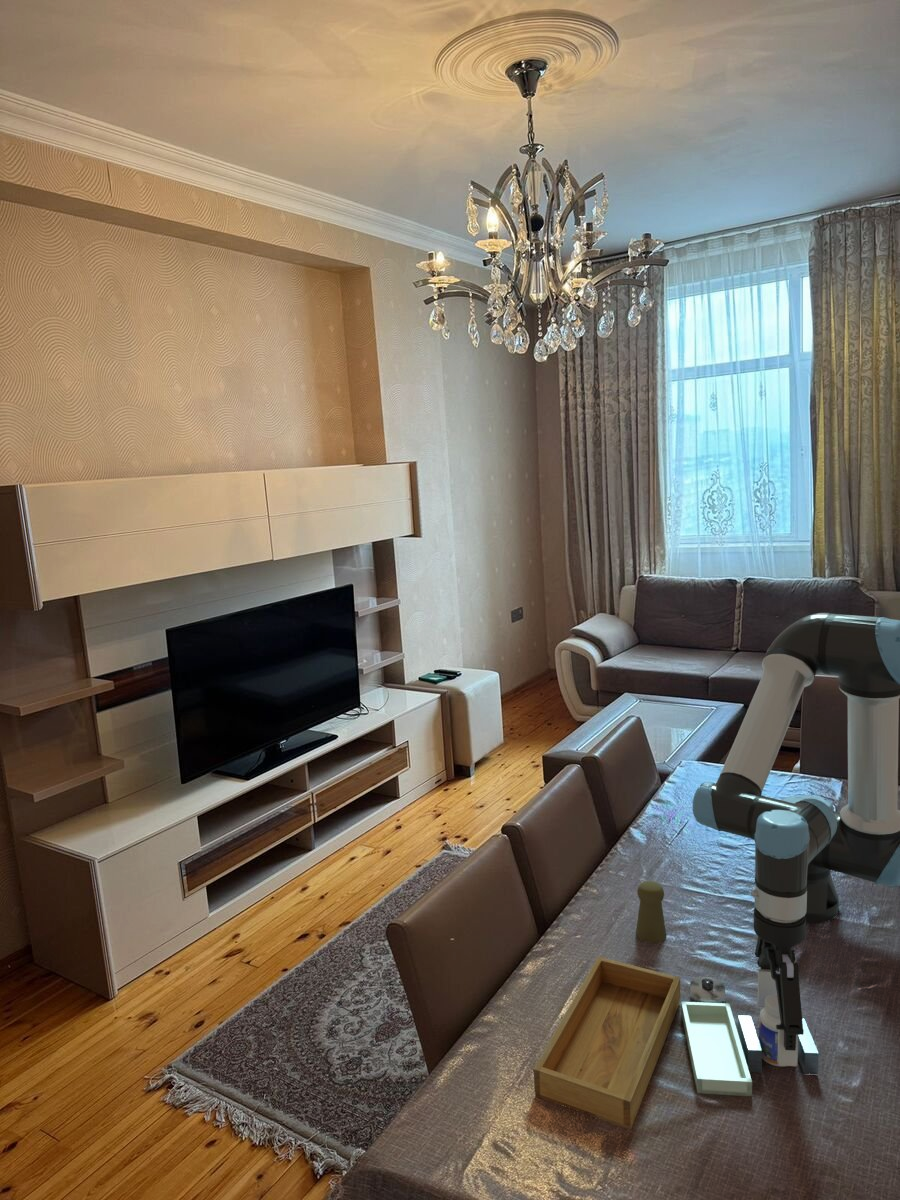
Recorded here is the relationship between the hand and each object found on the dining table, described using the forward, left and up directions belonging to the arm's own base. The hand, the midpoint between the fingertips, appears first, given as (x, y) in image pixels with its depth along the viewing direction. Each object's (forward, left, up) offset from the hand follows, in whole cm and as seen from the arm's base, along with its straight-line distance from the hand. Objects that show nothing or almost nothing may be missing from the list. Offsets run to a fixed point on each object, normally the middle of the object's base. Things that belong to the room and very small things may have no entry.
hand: (776, 1033), depth 133 cm
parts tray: (+10, 0, -4) cm, 10 cm away
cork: (+16, -33, -4) cm, 37 cm away
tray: (+26, 0, -5) cm, 26 cm away
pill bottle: (0, 0, -4) cm, 4 cm away
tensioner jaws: (0, 0, -4) cm, 4 cm away
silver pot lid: (+8, -14, -4) cm, 17 cm away
